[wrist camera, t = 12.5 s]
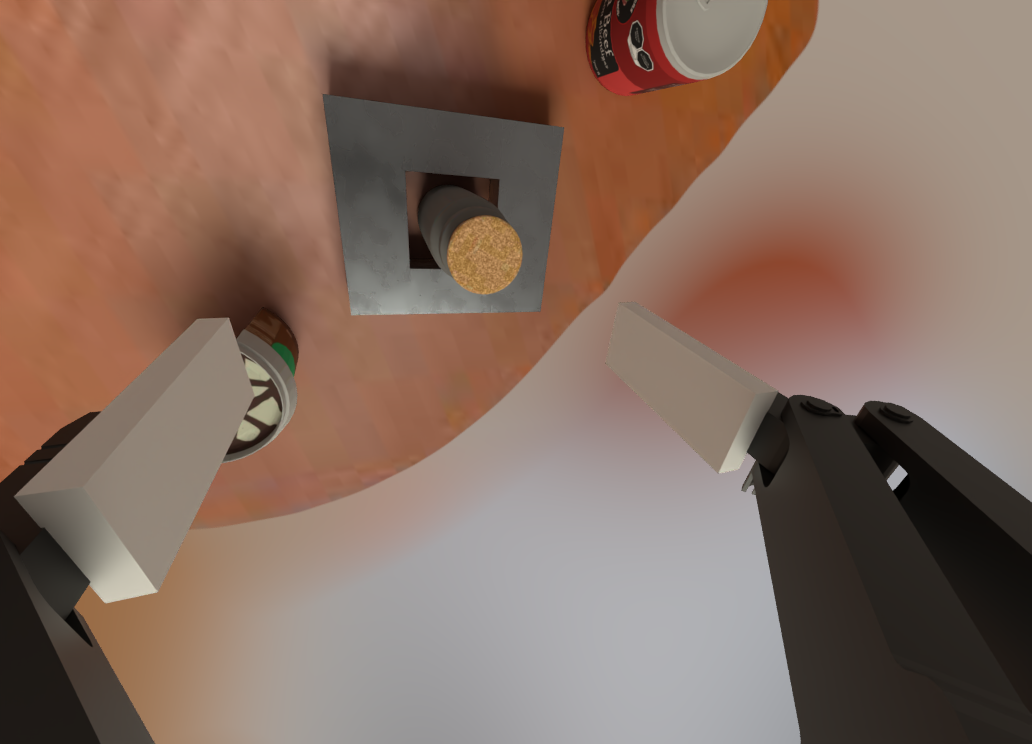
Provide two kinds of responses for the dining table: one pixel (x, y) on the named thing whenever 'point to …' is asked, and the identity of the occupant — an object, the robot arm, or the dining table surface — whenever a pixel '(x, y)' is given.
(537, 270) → the plate
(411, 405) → the dining table surface
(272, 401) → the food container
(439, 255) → the bottle
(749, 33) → the canned food
